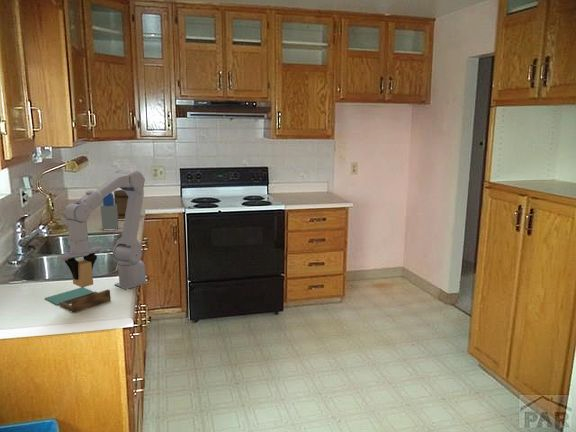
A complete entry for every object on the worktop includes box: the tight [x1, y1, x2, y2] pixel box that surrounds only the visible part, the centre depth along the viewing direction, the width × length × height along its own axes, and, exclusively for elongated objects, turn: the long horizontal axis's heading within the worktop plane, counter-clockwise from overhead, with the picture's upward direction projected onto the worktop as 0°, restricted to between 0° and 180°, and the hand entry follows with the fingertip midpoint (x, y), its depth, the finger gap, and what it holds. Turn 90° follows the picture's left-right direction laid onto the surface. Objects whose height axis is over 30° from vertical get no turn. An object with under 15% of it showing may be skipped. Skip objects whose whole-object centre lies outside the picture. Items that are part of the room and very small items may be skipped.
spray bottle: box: [100, 192, 119, 230], centre depth 264 cm, size 9×9×25 cm
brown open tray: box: [58, 289, 111, 314], centre depth 156 cm, size 13×10×4 cm
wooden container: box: [113, 189, 128, 219], centre depth 295 cm, size 15×15×22 cm
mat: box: [44, 287, 94, 306], centre depth 163 cm, size 14×10×1 cm
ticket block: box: [71, 258, 94, 288], centre depth 155 cm, size 4×6×8 cm, turn 52°
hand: (82, 277), depth 155 cm, fingers closed on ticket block, 4 cm apart
